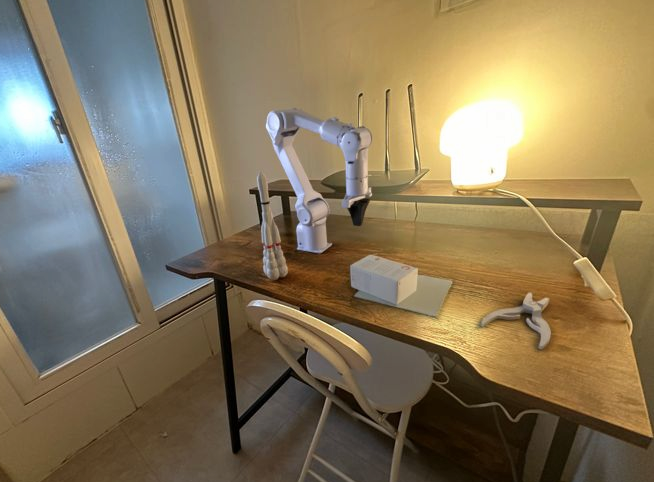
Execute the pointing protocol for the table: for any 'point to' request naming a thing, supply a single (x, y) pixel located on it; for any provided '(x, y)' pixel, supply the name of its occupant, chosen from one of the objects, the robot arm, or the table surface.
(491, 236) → the table surface
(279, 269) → the rocket model
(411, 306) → the mat
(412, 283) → the small box
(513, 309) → the pliers
